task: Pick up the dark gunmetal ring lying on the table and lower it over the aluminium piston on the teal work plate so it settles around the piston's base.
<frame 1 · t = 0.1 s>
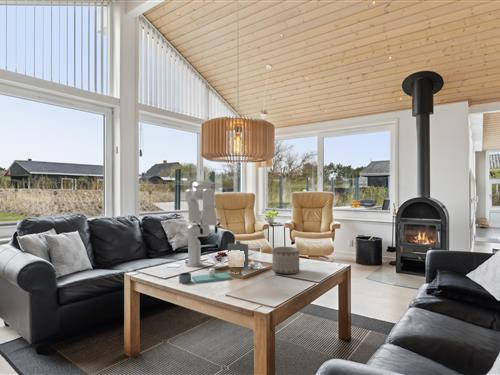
hand: (208, 233, 212), 31 cm above the table, fingers open, 9 cm apart
gunmetal ring: (185, 281, 210), on the table
piston stand: (211, 278, 217), on the table
planter: (285, 272, 233), on the table
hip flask: (238, 266, 248), on the table
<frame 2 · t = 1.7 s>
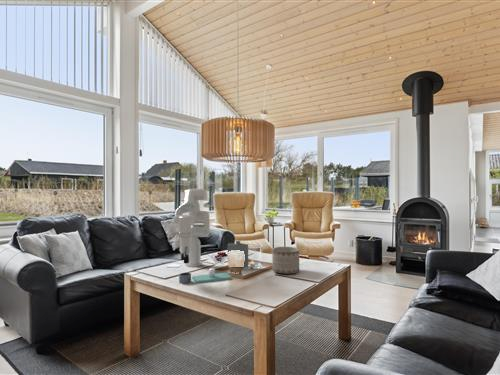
hand: (184, 261, 209), 13 cm above the table, fingers open, 9 cm apart
nothing on the table moved.
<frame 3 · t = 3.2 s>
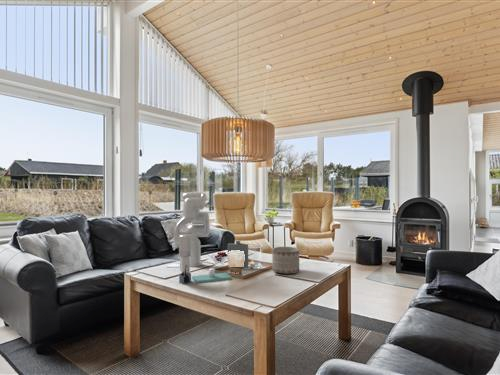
hand: (185, 280, 210), 1 cm above the table, fingers closed on gunmetal ring, 7 cm apart
gunmetal ring: (185, 281, 210), on the table, touching gripper
everything else where it was.
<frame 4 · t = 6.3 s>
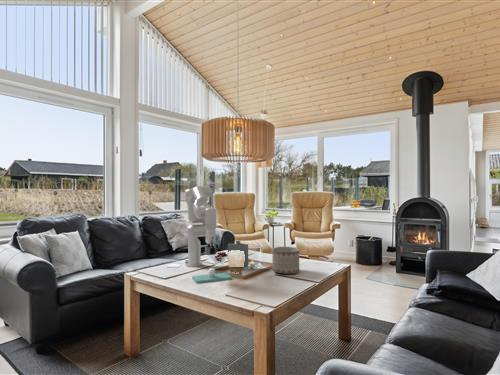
hand: (210, 252, 216), 18 cm above the table, fingers closed on gunmetal ring, 7 cm apart
gunmetal ring: (210, 253, 216), point 17 cm above the table, touching gripper
everything else where it was.
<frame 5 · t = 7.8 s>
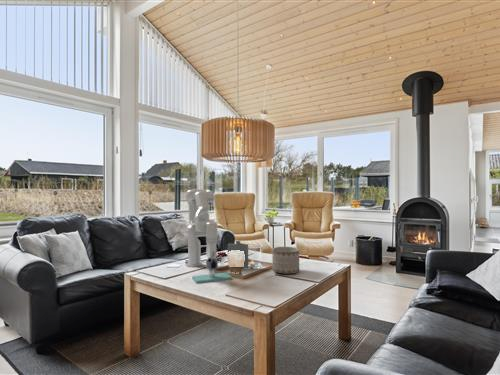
hand: (211, 266, 217), 8 cm above the table, fingers closed on gunmetal ring, 7 cm apart
gunmetal ring: (211, 267, 217), point 7 cm above the table, touching gripper
everything else where it was.
when the fingers open (4 cm above the table, at t = 9.3 s): gunmetal ring drops 2 cm, resting on piston stand.
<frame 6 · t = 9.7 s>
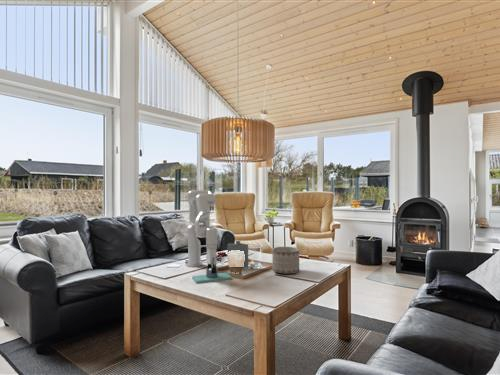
hand: (211, 271, 217), 5 cm above the table, fingers open, 9 cm apart
gunmetal ring: (211, 276, 217), point 1 cm above the table, touching piston stand
everything else where it was.
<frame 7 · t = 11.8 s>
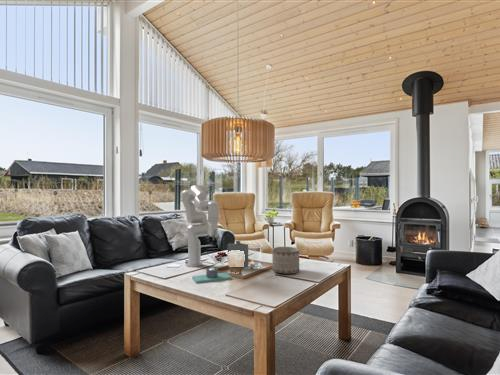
hand: (212, 243, 225), 22 cm above the table, fingers open, 9 cm apart
nothing on the table moved.
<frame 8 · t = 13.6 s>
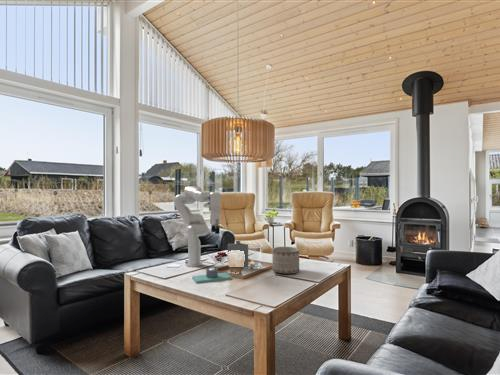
hand: (215, 232, 234), 28 cm above the table, fingers open, 9 cm apart
nothing on the table moved.
at the end: gunmetal ring 0.0 cm off-centre on the piston stand, point 1.5 cm above the piston stand's base; the gripper is holding nothing; gunmetal ring tilted 0° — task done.
